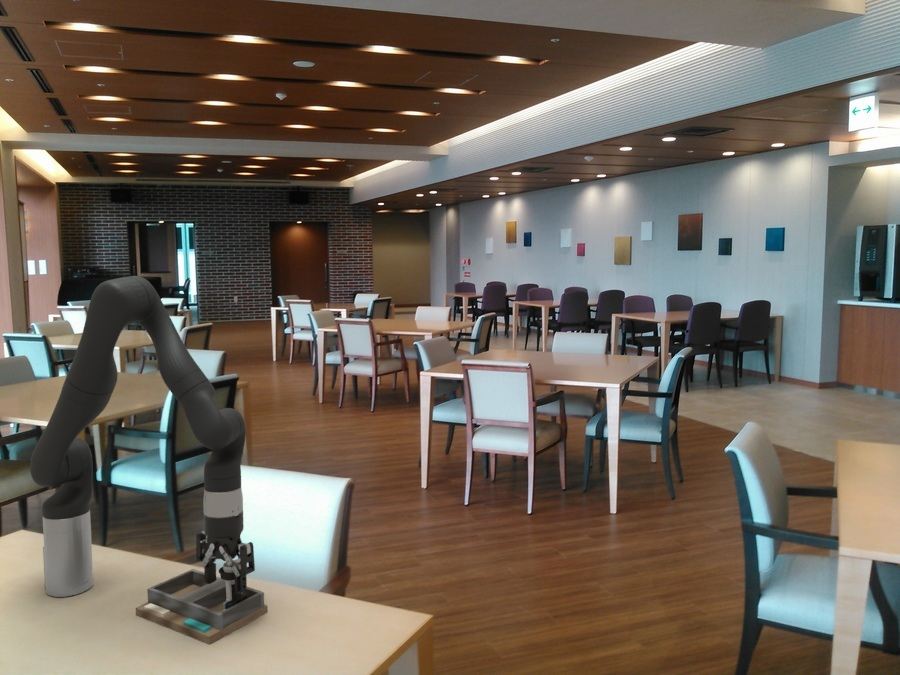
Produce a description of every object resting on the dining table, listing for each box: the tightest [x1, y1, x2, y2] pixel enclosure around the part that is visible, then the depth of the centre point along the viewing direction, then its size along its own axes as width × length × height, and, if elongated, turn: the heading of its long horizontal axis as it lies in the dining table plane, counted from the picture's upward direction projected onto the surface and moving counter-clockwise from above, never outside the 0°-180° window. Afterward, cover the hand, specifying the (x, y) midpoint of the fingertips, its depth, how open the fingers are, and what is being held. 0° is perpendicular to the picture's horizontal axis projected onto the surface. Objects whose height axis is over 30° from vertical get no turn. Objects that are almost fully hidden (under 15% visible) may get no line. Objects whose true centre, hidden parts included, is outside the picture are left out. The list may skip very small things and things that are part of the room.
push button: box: [218, 561, 247, 612], centre depth 145 cm, size 7×5×10 cm
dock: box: [135, 568, 268, 645], centre depth 148 cm, size 22×15×4 cm
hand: (225, 587), depth 145 cm, fingers open, 8 cm apart
